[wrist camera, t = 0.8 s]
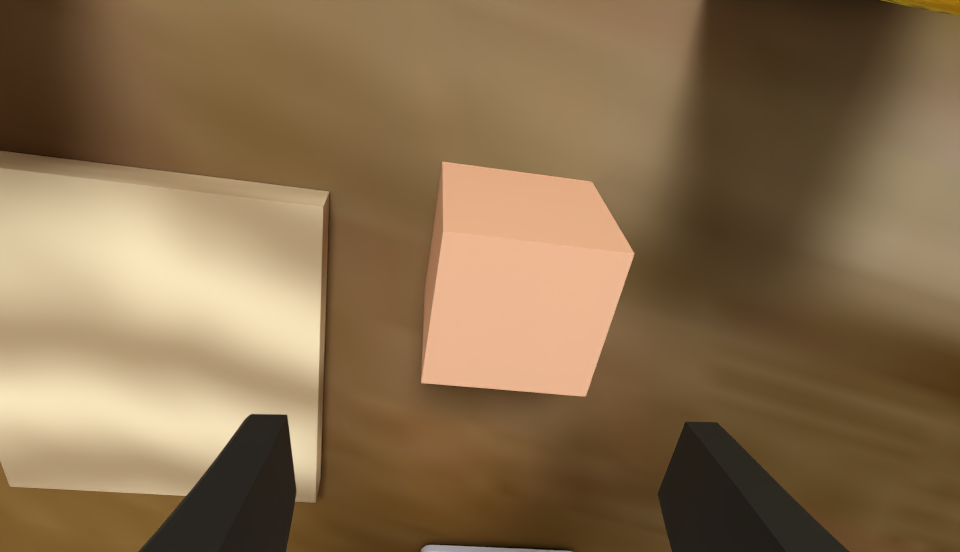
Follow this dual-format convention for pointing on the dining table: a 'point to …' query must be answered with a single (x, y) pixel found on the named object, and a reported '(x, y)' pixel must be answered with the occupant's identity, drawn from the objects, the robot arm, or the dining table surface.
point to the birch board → (154, 322)
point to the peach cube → (519, 281)
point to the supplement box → (932, 5)
